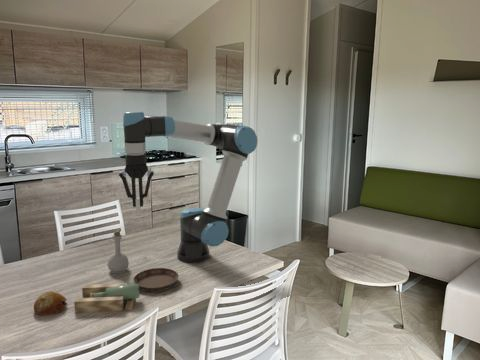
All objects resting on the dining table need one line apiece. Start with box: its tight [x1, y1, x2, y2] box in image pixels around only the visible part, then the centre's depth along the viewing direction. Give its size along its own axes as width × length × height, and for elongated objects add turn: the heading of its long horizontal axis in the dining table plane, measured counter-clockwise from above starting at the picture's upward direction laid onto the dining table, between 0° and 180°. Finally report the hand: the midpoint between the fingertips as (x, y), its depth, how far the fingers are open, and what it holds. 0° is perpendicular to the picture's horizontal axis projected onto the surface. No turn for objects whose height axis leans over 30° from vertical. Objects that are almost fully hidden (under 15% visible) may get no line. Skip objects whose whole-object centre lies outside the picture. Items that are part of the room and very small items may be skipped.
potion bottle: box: [107, 230, 130, 275], centre depth 174 cm, size 9×9×18 cm
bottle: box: [90, 283, 140, 301], centre depth 148 cm, size 5×5×17 cm
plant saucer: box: [132, 267, 179, 293], centre depth 164 cm, size 18×18×3 cm
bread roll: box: [33, 290, 68, 317], centre depth 143 cm, size 10×10×8 cm
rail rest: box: [73, 282, 136, 314], centre depth 148 cm, size 19×13×4 cm
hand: (138, 214), depth 157 cm, fingers closed
